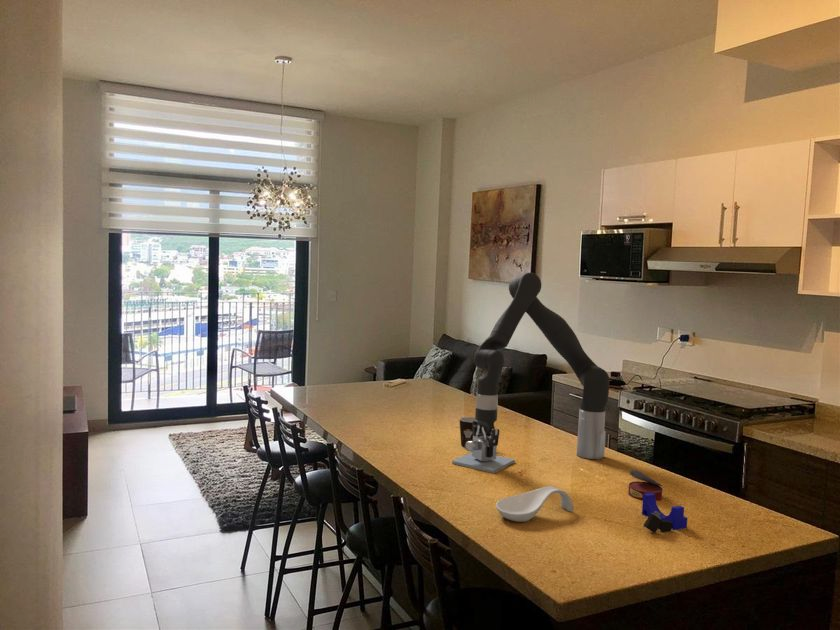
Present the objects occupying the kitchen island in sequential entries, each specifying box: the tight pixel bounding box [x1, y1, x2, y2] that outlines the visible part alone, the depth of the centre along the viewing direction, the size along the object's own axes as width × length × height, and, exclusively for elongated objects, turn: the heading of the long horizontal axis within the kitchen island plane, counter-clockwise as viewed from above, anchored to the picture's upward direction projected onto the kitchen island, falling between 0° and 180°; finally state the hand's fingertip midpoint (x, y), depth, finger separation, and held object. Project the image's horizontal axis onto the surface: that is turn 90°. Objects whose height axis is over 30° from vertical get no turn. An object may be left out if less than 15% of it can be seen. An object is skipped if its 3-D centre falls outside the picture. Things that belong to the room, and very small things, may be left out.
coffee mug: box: [458, 416, 477, 448], centre depth 251 cm, size 12×9×10 cm
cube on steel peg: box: [464, 435, 498, 461], centre depth 230 cm, size 10×6×7 cm, turn 117°
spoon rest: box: [495, 485, 574, 523], centre depth 185 cm, size 24×12×7 cm, turn 118°
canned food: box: [627, 469, 664, 502], centre depth 204 cm, size 11×10×10 cm
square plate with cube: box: [451, 451, 516, 474], centre depth 231 cm, size 16×16×6 cm
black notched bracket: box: [642, 511, 673, 534], centre depth 176 cm, size 8×2×5 cm
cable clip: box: [641, 493, 688, 531], centre depth 184 cm, size 12×4×6 cm, turn 25°
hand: (484, 454), depth 231 cm, fingers closed on cube on steel peg, 6 cm apart
